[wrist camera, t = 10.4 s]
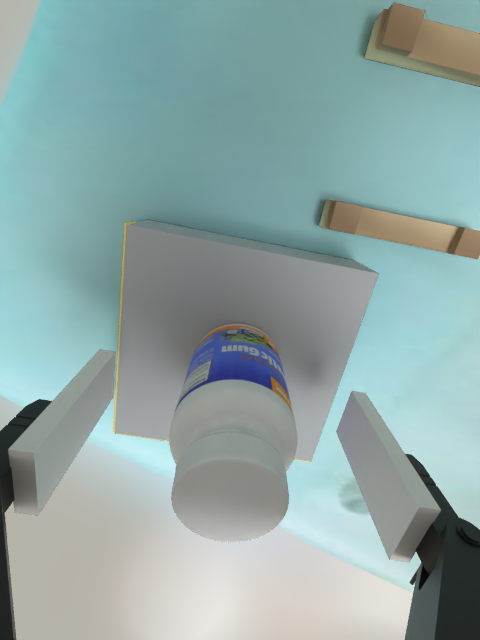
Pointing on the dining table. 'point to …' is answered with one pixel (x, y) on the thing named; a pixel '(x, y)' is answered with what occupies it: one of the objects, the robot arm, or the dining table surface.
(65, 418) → the robot arm
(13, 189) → the dining table surface
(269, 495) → the pill bottle
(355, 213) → the wooden rail rack
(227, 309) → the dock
